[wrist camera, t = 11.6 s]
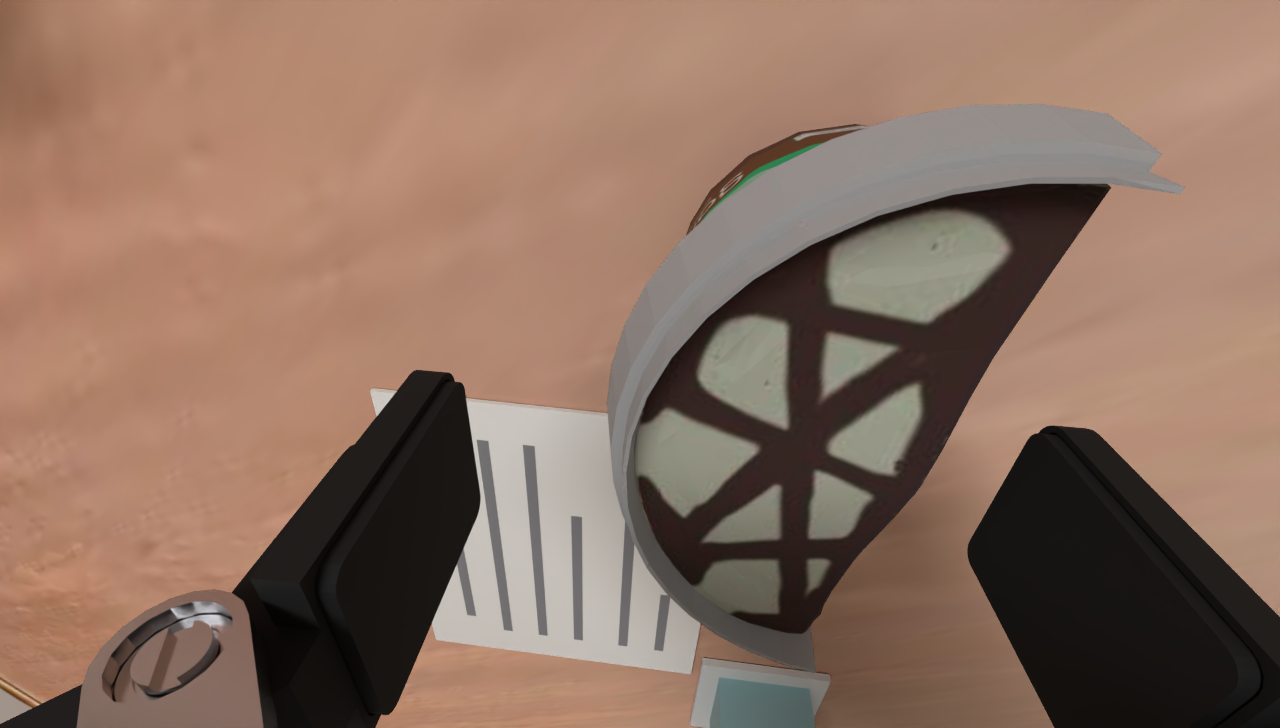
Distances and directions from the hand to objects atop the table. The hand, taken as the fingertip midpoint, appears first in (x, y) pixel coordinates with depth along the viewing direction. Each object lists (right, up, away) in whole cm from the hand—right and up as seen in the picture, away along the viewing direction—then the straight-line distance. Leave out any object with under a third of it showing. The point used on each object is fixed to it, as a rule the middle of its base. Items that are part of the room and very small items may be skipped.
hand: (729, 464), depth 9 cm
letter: (-6, -8, +17) cm, 20 cm away
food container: (+2, +5, +9) cm, 10 cm away
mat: (+5, -18, +23) cm, 29 cm away
